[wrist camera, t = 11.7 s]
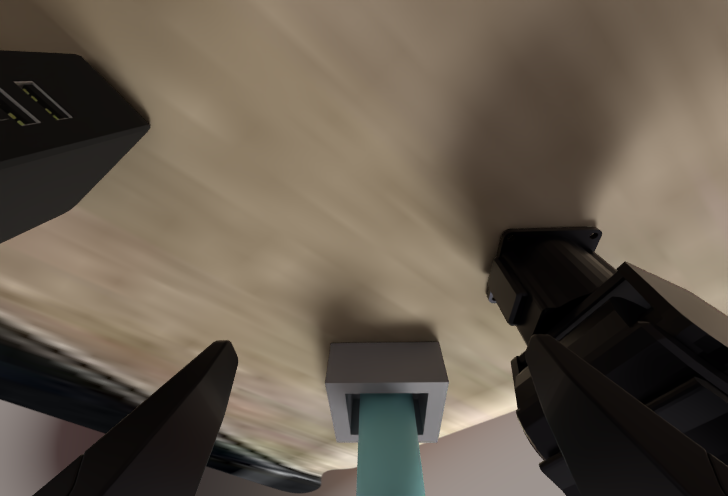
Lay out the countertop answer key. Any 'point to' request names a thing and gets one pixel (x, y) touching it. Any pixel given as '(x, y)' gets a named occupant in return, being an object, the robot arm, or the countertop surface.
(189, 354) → the countertop surface
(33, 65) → the electronic device
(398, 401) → the peg
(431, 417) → the socket block
